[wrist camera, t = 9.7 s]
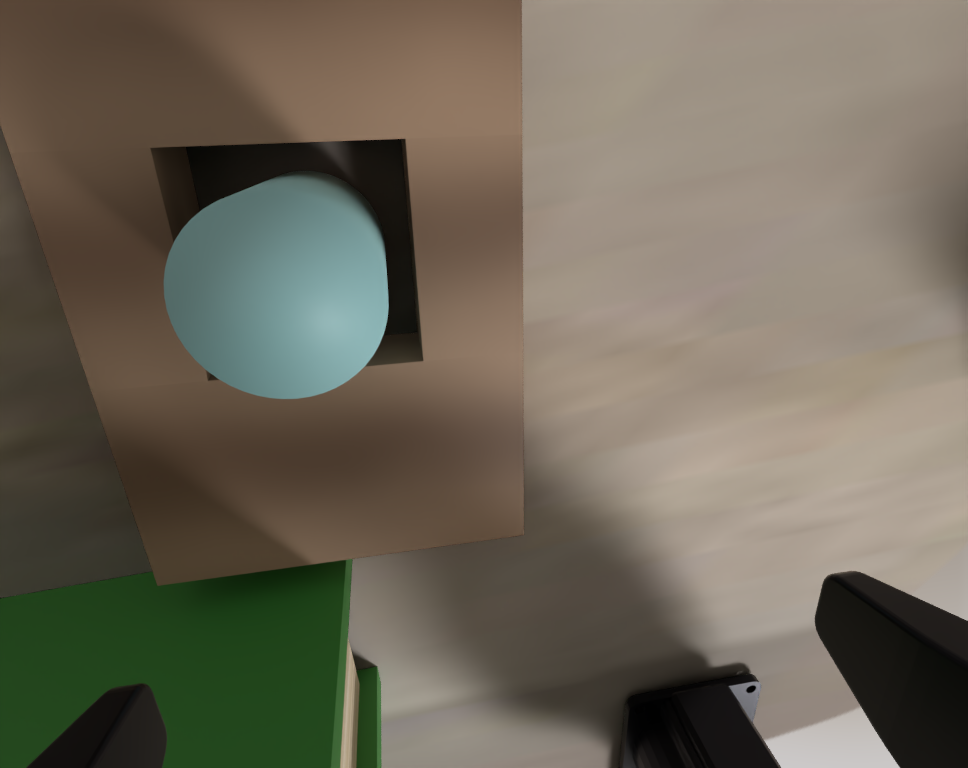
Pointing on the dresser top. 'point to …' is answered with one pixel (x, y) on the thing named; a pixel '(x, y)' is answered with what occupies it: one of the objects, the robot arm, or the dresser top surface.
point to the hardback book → (197, 667)
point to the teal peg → (281, 286)
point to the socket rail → (173, 203)
